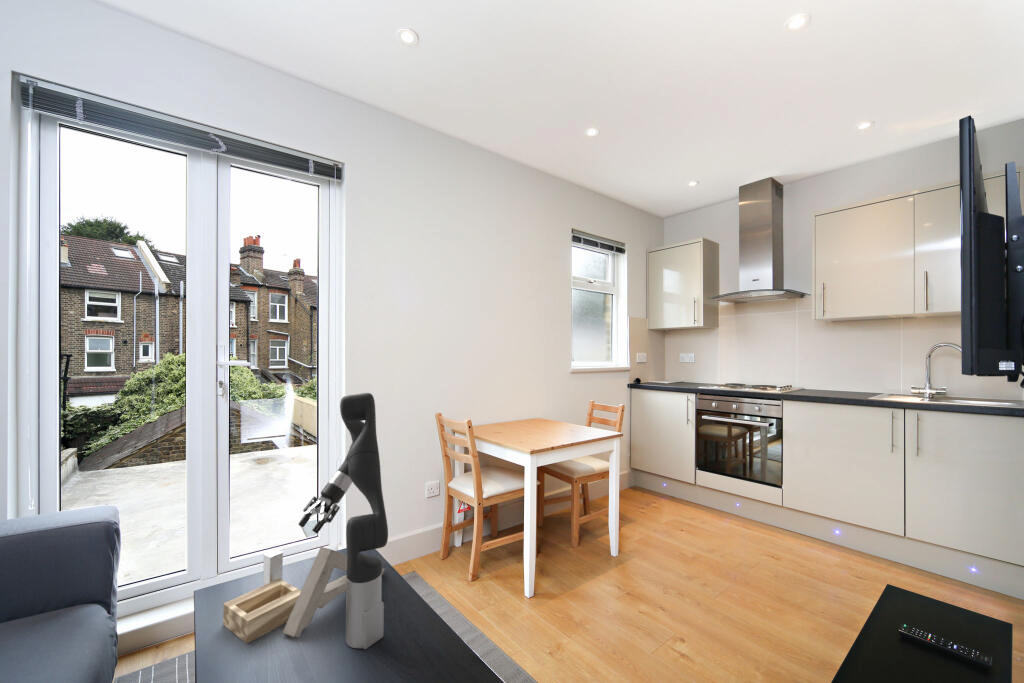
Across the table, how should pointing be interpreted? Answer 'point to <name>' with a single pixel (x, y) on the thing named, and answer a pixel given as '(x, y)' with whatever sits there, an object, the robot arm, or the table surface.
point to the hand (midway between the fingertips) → (307, 529)
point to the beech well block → (260, 610)
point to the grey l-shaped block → (272, 566)
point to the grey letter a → (317, 590)
